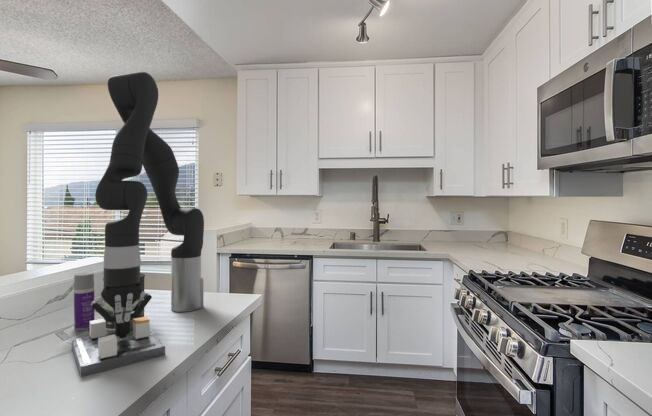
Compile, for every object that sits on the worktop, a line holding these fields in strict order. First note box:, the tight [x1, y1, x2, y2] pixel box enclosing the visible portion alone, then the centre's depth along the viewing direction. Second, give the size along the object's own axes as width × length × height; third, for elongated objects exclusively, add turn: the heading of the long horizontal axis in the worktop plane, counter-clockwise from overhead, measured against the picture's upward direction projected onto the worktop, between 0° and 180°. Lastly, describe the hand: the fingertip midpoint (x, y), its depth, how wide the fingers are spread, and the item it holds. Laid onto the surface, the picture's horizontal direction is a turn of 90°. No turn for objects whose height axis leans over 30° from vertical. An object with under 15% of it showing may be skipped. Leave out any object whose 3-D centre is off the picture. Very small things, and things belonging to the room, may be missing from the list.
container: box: [73, 271, 95, 331], centre depth 98 cm, size 5×5×15 cm
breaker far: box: [89, 318, 107, 339], centre depth 86 cm, size 3×3×4 cm
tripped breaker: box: [133, 315, 150, 339], centre depth 86 cm, size 3×3×4 cm
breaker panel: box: [71, 326, 166, 377], centre depth 83 cm, size 16×19×2 cm
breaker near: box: [98, 335, 117, 359], centre depth 76 cm, size 3×3×4 cm
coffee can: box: [102, 272, 146, 332], centre depth 100 cm, size 10×10×14 cm
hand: (122, 336), depth 84 cm, fingers closed
